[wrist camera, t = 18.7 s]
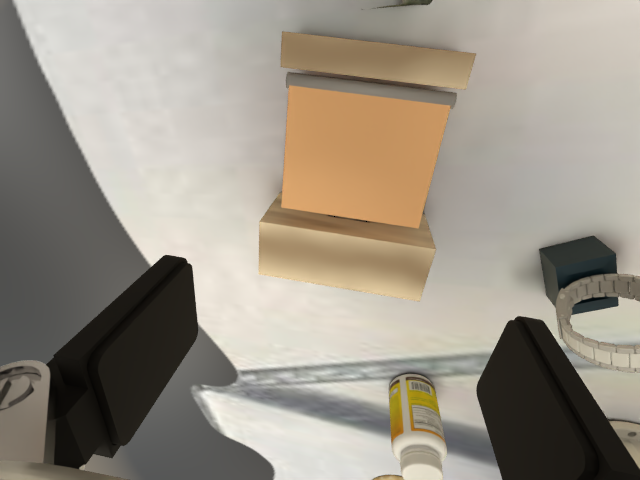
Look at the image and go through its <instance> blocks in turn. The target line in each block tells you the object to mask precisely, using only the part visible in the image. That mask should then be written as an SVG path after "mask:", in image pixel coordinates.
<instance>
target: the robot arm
mask: <svg viewBox="0 0 640 480" xmlns="http://www.w3.org/2000/svg"><path fill="white" fill-rule="evenodd" d="M197 334H198V323H197V312H196V302H195V291H194V281H193V271H192V266H191V264H188V263H187V260H186V259H185V258H182V257H176V256H170V255H165V256H163V257H162V258H161V259H160V260H158V261H157V262H156V263H155V264H154V265H153V266H152V267H151V268H150V269H148V271H146V272H145V273H144V274H143V275H142V276H141V277H140V278H139V279H137V280H136V281H135V282H134V283H133V284H132V285H131V286H130V287H129V288H128V289H127V290H125V291H124V292H123V293H122V294H121V295H120V296H119V297H118V298H116V299H115V300H114V301H113V302H112V303H111V304H110V305H109V306H108V307H106V308H105V309H104V310H103V311H102V312H101V313H100V314H99V315H98V316H97V317H96V318H94V319H93V320H92V321H91V322H90V323H89V324H88V325H87V326H86V327H84V328H83V329H82V330H81V331H80V332H79V333H78V334H77V335H76V336H75V337H73V338H72V339H71V340H70V341H69V342H68V343H67V344H66V345H64V346H63V347H62V348H61V349H60V350H59V351H58V352H57V353H56V354H55V355H54V358H53V359H52V360H51V361H50V362H49V363H47V364H46V365H45V364H44V363H41V362H38V361H35V360H33V361H31V360H24V361H19V362H14V363H10V364H7V365H4V366H2V367H0V480H128V479H123V478H118V477H113V476H109V475H104V474H99V473H94V472H89V471H85V464H86V463H87V462H88V461H89V459H90V458H91V456H92V455H93V454H96V455H100V456H105V457H109V458H113V456H114V455H115V453H116V451H117V450H118V449H119V447H120V446H121V445H122V446H124V445H126V444H127V443H128V442H129V441H130V440H131V438H132V437H133V435H134V434H135V432H136V431H137V429H138V428H139V426H140V425H141V423H142V422H143V420H144V419H145V417H146V415H147V414H148V412H149V411H150V409H151V408H152V406H153V405H154V403H155V402H156V400H157V398H158V397H159V395H160V394H161V392H162V391H163V389H164V388H165V386H166V385H167V383H168V382H169V380H170V379H171V377H172V376H173V374H174V373H175V371H176V370H177V368H178V366H179V365H180V363H181V362H182V360H183V359H184V357H185V356H186V354H187V353H188V351H189V350H190V348H191V347H192V345H193V343H194V342H195V340H196V337H197ZM477 397H478V400H479V404H480V407H481V410H482V414H483V417H484V420H485V423H486V427H487V430H488V433H489V437H490V440H491V443H492V446H493V450H494V453H495V456H496V460H497V463H498V466H499V469H500V473H501V476H502V479H503V480H640V425H638V424H634V423H629V422H622V421H608V419H607V418H606V416H605V415H604V413H603V412H602V410H601V409H600V407H599V406H598V404H597V402H596V401H595V399H594V398H593V396H592V395H591V393H590V392H589V390H588V389H587V387H586V386H585V384H584V383H583V381H582V379H581V378H580V376H579V375H578V373H577V372H576V370H575V369H574V367H573V366H572V364H571V363H570V361H569V359H568V358H567V356H566V355H565V353H564V352H563V350H562V349H561V347H560V346H559V344H558V343H557V341H556V339H555V338H554V336H553V335H552V333H551V332H550V330H549V329H548V327H547V326H546V324H545V323H544V322H543V321H542V320H539V319H533V318H527V317H522V316H518V317H516V318H515V320H510V321H509V322H508V323H507V325H506V327H505V329H504V331H503V333H502V335H501V337H500V339H499V341H498V343H497V345H496V347H495V349H494V351H493V353H492V355H491V357H490V359H489V361H488V363H487V365H486V367H485V369H484V371H483V373H482V375H481V377H480V379H479V381H478V384H477Z"/></svg>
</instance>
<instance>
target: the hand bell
mask: <svg viewBox="0 0 640 480" xmlns="http://www.w3.org/2000/svg"><path fill="white" fill-rule="evenodd" d="M373 480H404V479H403V477H402V476H396V475H384V476H379V477H377V478H374V479H373Z"/></svg>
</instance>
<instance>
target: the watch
mask: <svg viewBox="0 0 640 480" xmlns="http://www.w3.org/2000/svg"><path fill="white" fill-rule="evenodd" d="M539 250H540V257H541V263H542V270H543V276H544V282H545V289H546V295H547V297H548V298H549V299H550V301H551V302H552V304H553V305H554V306H555V308H556V315H557V322H558V329H559V335H560V339H563V341H564V343H566V345H567V347H568V348H569V349H570V350H572V351H573V352H574V353H575V354H577V355H578V356H580V357H581V358H583V359H585V360H587V361H589V362H591V363H593V364H596V365H600V366H601V367H604V368H607V369H611V370H617V368H618V371H622V372H631V373H635V372H637V373H640V345H635V346H634V347H633V346H631V345H617V346H615V345H614V344H609V343H604V342H600V343H599V342H598V341H595V340H592V339H589V338H584V336H582V335H580V334H578V333H577V332H575V331H573V329H572V325H571V324H570V318H571V315H573V314H579V313H584V312H589V311H595V310H600V309H605V308H610V307H616V306H618V297H619V296H620V297H622V298H628V299H634V298H635V300H637V301H640V276H635V280H634V275H628V274H617V265H616V253H615V252H613V251H612V250H611V249H610V248H608V247H607V246H606V245H605V244H603V243H602V242H601V241H600V240H598V239H597V238H596V237H595V236H591V237H586V238H582V239H578V240H574V241H570V242H566V243H562V244H558V245H554V246H550V247H546V248H542V249H539ZM629 285H630V292H629ZM610 352H611V353H610ZM611 360H612V362H611ZM629 363H630V364H629Z"/></svg>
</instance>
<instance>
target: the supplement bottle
mask: <svg viewBox="0 0 640 480" xmlns="http://www.w3.org/2000/svg"><path fill="white" fill-rule="evenodd" d="M389 404H390V422H391V442H392V451H393V454H394V456H395V457H396V459H397V460H398V461H399V462H400V466H401V474H402V477H403V479H404V480H442V479H443V472H442V464H441V463H442V462H443V461H444V459H445V458H446V455H447V449H446V443H445V438H444V433H443V428H442V423H441V418H440V413H439V408H438V402H437V397H436V392H435V388H434V386H433V384H432V383H431V382H430V381H429V380H428V379H427V378H425V377H423V376H421V375H417V374H405V375H401V376H399V377H397V378H395V379H394V380H393V381H392V382H391V384H390V386H389Z"/></svg>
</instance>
